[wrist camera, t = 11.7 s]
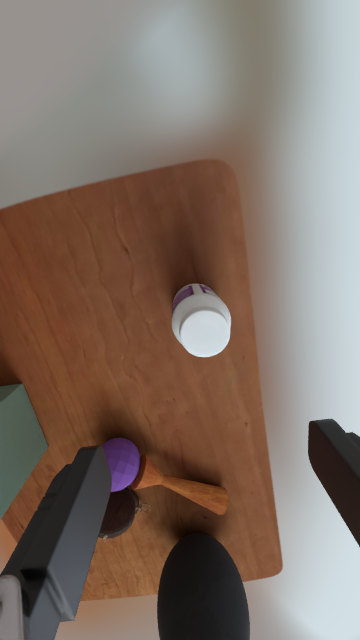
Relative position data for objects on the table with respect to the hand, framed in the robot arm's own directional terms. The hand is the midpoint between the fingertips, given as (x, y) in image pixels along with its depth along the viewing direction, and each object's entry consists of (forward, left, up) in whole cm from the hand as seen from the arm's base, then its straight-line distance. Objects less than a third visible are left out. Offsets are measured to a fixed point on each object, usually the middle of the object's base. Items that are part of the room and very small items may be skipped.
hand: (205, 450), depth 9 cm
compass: (+10, -30, -20) cm, 37 cm away
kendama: (+11, -21, -20) cm, 30 cm away
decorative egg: (+25, -31, -20) cm, 44 cm away
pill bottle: (0, +1, -20) cm, 20 cm away
